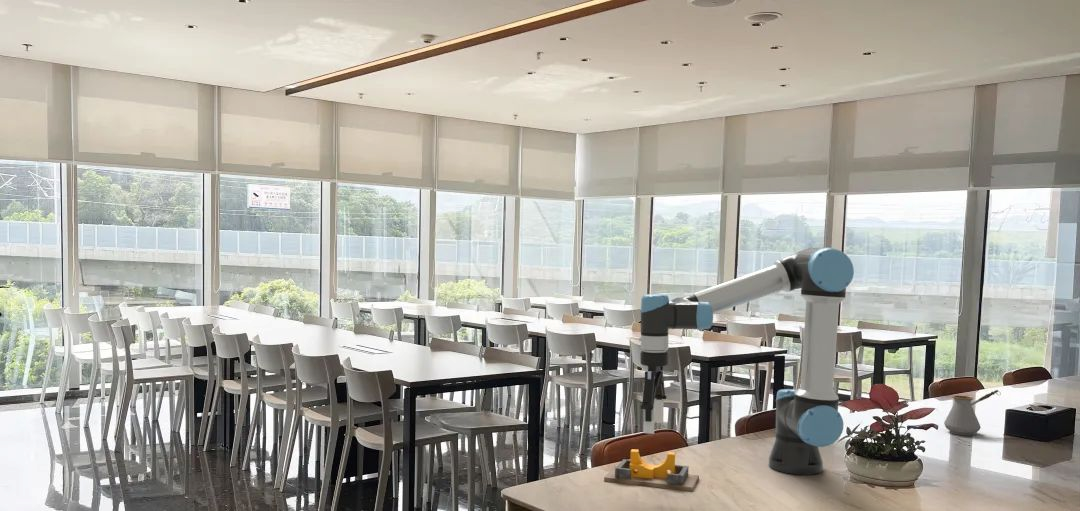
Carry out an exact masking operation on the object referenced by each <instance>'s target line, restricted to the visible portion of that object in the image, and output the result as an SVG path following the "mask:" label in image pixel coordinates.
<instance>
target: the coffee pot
mask: <svg viewBox="0 0 1080 511" xmlns="http://www.w3.org/2000/svg"><path fill="white" fill-rule="evenodd" d="M998 393H999V394H998ZM995 394H996V395H997V396H1001V395H1002V393H1001V392H1000V391H999V390H998V389H995V390H994V391H991V392H989V393H986V394H985V395H984V396H981V397H980V398H978V399H977V400H975V401H973V400H974V397H973V396H972V397H971V396H966V395H953V396H952V398H953V400H954V403H953V405H952V407H951V409H950V411H949V412H948V414H947V416H946V419H945V420H944V422H943V423H944V424H943V425H944V426H945V428H946V429H947V430H948V431H949V433H951V434H955V435H959V436H974V435H975V434H977V433H978V432H979V431H980V430H981V424H980V421H979V419H978V417H977V415H976V413H975V411H974V408H973V406H974V405H977V404H978V403H980V402H981V401H984V400H986V399H989V398H991V396H995Z"/></svg>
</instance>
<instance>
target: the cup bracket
mask: <svg viewBox="0 0 1080 511" xmlns="http://www.w3.org/2000/svg"><path fill="white" fill-rule="evenodd" d="M699 479H700V475H698V474H689V466H688V465H682V464H680V465H679V464H675V474H671V473H667V478H664V477H653V478H642V477H631V469H630V459H625V458H624V459H622V460H621V461H620V462H619V463H618V464H617V465H614V466H613V467H612V468H611V469H610V470H609V471H608V472H607V474H606V475H605V476H603V481H604V482H610V483H611V482H612V483H620V484H627V485H637V486H645V487H653V488H654V487H655V488H661V489H670V490H677V491H686V492H693V491H694V490H695V488H696V485H697V484H698V482H699Z"/></svg>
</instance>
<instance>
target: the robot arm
mask: <svg viewBox="0 0 1080 511" xmlns="http://www.w3.org/2000/svg"><path fill="white" fill-rule="evenodd" d="M854 272H855V271H854V265H853V262H852V260H851V258H850V257H849V256H848V255H847V254H846V253H845V252H844V251H842V250H839V249H836V248H834V247H828V246H827V247H809V248H805V249H803V250H799V251H797V252H794V253H793V254H792V253H791V254H790V255H787V256H786V257H783V258H780V259H778V260H775V261H774V262H773V265H771V266H768V267H766V268H763V269H759V270H757V271H755V272H752V273H751V272H750V273H748V274H745V275H743V276H740V277H737V278H734V279H732V280H731V279H730V280H728V281H726V282H723V283H719V284H717V285H714V286H711V287H708V288H706V289H702V290H700V291H696V292H694V293H691V294H688V295H685V296H682V297H675V298H673V299H669V295H667V294H656V293H648V294H644V295H642V297H641V300H640V301H641V304H640V337H639V338H638V342H640V349H641V351H640V364H641V365H642V366H645V367H647V370H646V371H645V372H644V384H643V394H642V405H640V409H642V410H643V434H652V435H654V434H655V423H656V424H664V405H665V404H664V400H666V399H667V395H666V390H665V381H664V380H665V378H664V367H667V366H668V365H669V352H668V350H669V330H698V331H699V330H709V329H710V328H712V325H713V323H714V322H713V321H714V314H717V313H720V312H722V311H723V312H724V311H726V310H729V309H731V308H734V307H737V306H740V305H743V304H745V303H749V302H751V301H754V300H757V299H761V298H763V297H766V296H769V295H772V294H775V293H777V292H778V293H779V292H780V291H784V292H786V293H788V292H791V291H794V290H799V289H800V296H801V297H802V298H803V299H804V300H805V312H804V313H805V314H804V315H805V316H804V329H803V330H804V331H803V342H802V343H803V344H802V345H803V346H802V359H801V360H802V362H801V374H800V375H801V377H800V387H799V388H798V389H791V388H786V389H785V388H784V389H778V391H777V392H776V399H775V403H776V404H775V440H774V443H773V446H772V449H771V450H770V454H769V457H768V466H769V467H770V468H771V469H773V470H774V471H778V472H782V473H786V474H792V475H793V474H794V475H809V476H810V475H816V474H821V473H823V470H824V462H823V459H822V455H821V451H820V449H819V448H824V447H828V446H831V445H833V444H834V443H835V442H837V441H838V440H839V439H840V437H841V436H842V434H843V431H844V420H843V417H842V415H841V413H840V411H839V399H840V398H839V395H837V393H835V391H834V386H835V384H834V383H835V369H836V354H837V342H838V340H837V339H838V338H837V336H838V323H839V308H840V304H841V302H843V301H844V300H845V299H846V293H847V292H846V291H847V287H849V285H850V284H851V283H852V281H853V278H854V275H855V274H854Z"/></svg>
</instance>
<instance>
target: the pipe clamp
mask: <svg viewBox="0 0 1080 511" xmlns="http://www.w3.org/2000/svg"><path fill="white" fill-rule="evenodd" d="M629 460H630V469H631V477H642V478H653V477H664V478H667V473H671V474H675V465H676V452H674V451H668V452H667V456H666V458H665V460H664V461H663V462H662V463H660V464H655V465H654V464H649V463H647V462H645V461H644V460H643V458H642V457H641V455H640V450H639V449H638V448H637V449H633V448H632V449H631V450H630V458H629Z"/></svg>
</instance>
